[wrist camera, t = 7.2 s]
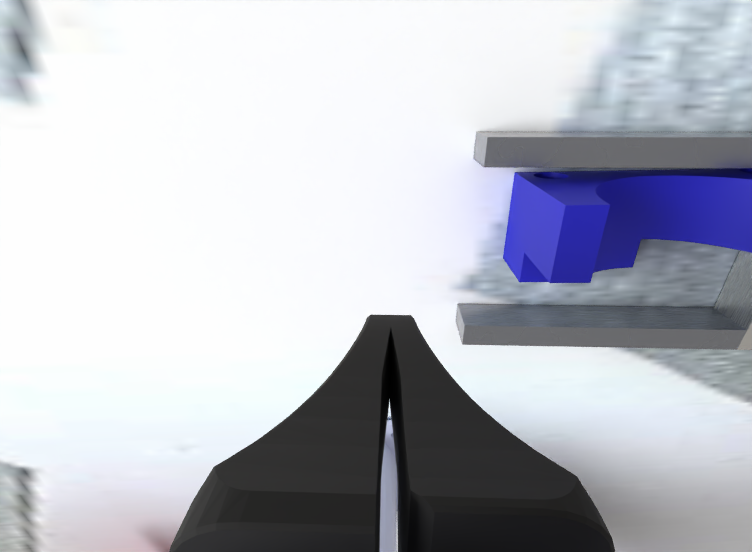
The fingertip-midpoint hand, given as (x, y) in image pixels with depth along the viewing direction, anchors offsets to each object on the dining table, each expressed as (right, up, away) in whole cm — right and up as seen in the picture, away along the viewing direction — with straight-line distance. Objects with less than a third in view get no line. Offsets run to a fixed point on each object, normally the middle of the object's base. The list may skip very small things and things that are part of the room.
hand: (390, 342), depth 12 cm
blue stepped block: (+12, +5, +8) cm, 15 cm away
